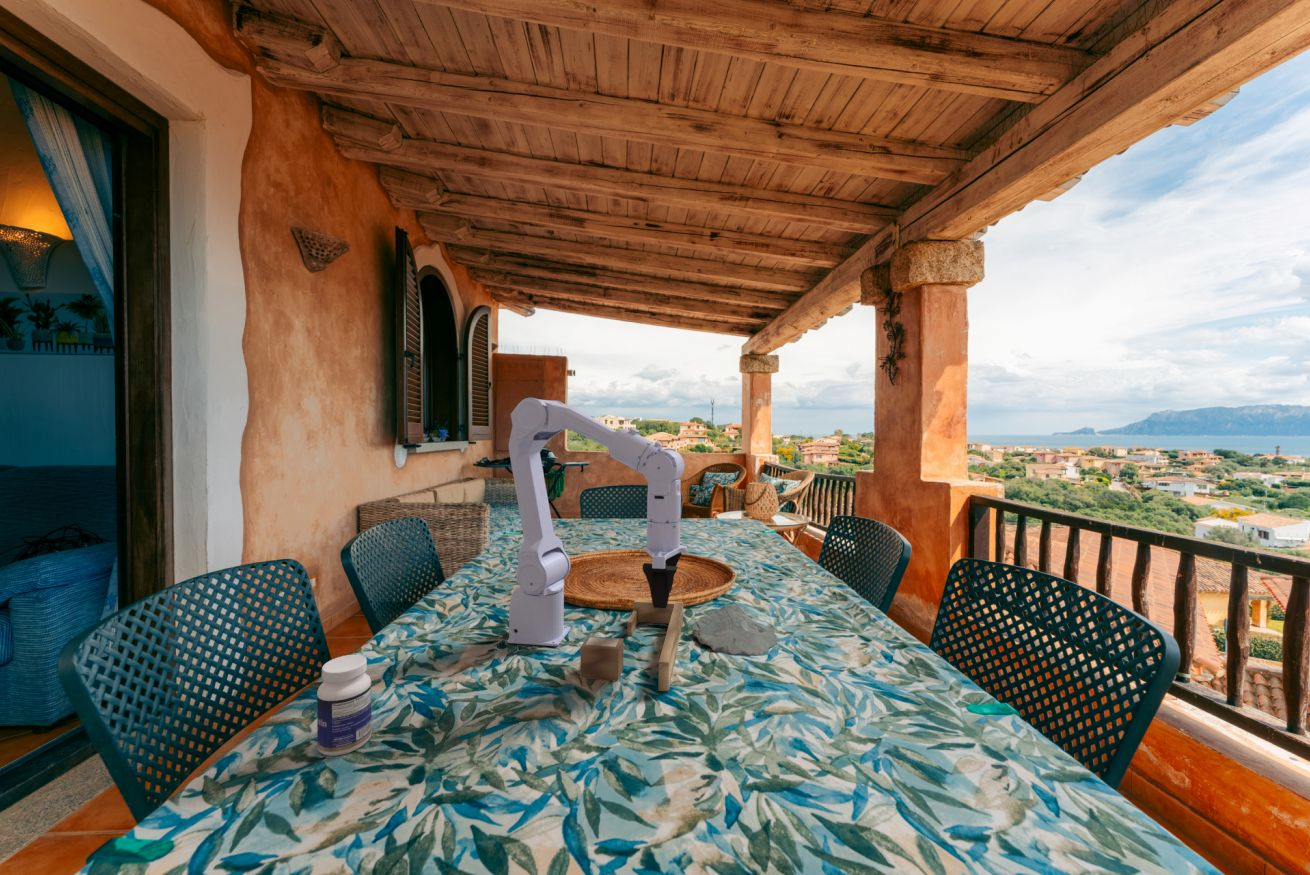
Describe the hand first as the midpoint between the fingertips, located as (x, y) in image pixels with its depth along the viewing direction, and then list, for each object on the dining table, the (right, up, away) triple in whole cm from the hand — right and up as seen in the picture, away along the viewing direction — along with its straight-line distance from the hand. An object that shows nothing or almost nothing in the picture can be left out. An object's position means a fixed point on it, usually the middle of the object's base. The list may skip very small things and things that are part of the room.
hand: (662, 599), depth 87 cm
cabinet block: (-10, -10, -6) cm, 15 cm away
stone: (+13, -10, +8) cm, 19 cm away
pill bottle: (-39, -10, -24) cm, 47 cm away
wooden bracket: (-2, -10, +3) cm, 10 cm away
